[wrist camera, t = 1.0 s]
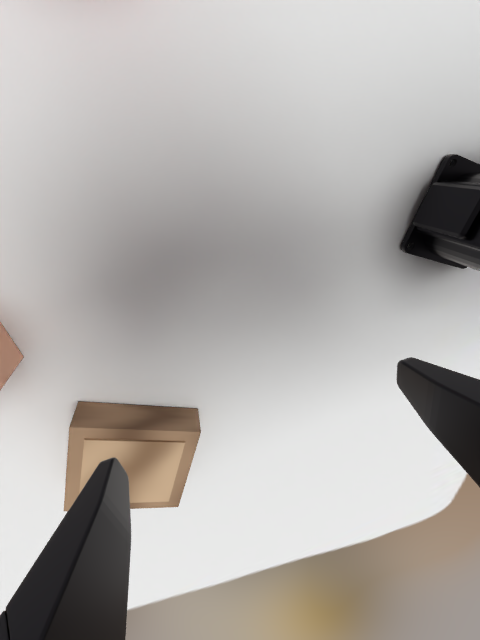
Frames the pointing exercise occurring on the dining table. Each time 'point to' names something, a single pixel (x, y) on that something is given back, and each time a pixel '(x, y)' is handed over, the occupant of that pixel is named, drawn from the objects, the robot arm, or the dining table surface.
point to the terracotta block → (7, 356)
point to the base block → (133, 449)
